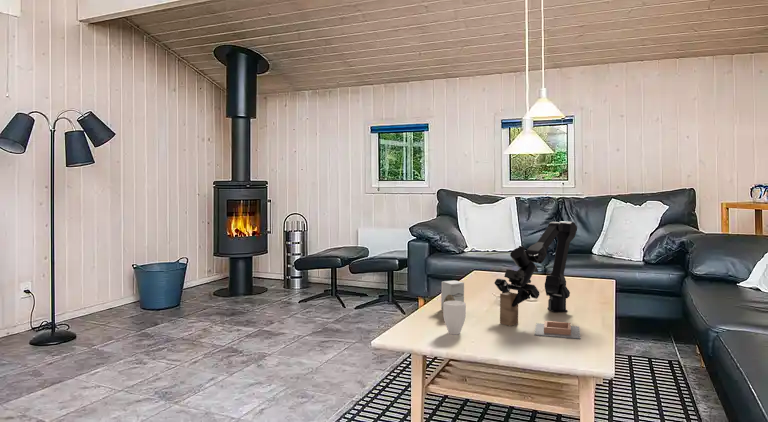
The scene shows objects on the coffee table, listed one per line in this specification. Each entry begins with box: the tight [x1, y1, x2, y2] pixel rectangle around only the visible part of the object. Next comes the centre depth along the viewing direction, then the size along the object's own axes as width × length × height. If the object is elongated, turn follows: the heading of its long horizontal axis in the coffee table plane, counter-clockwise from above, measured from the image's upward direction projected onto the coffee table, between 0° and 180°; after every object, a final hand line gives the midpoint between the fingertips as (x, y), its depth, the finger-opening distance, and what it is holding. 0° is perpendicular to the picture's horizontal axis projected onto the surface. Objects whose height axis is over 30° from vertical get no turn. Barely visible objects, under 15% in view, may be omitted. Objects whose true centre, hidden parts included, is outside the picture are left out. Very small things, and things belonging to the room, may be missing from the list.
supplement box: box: [440, 279, 465, 310], centre depth 237 cm, size 7×7×13 cm
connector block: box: [499, 291, 519, 327], centre depth 214 cm, size 5×5×12 cm
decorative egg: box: [441, 294, 455, 312], centre depth 223 cm, size 6×6×10 cm
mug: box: [442, 301, 467, 335], centre depth 204 cm, size 12×8×11 cm
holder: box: [533, 320, 581, 340], centre depth 204 cm, size 16×16×2 cm
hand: (506, 305), depth 213 cm, fingers closed on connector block, 5 cm apart
